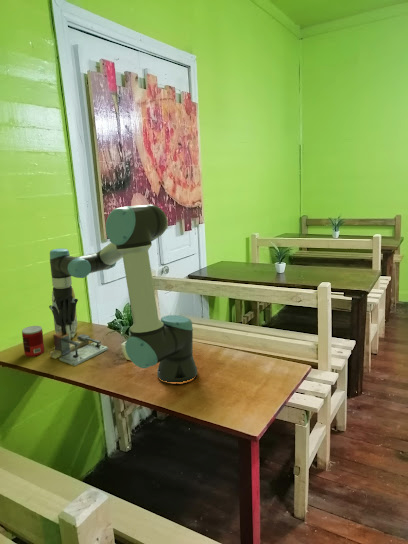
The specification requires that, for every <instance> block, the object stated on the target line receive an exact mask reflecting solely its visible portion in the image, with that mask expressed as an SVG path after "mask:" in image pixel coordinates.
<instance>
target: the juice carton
mask: <svg viewBox="0 0 408 544" xmlns="http://www.w3.org/2000/svg"><path fill="white" fill-rule="evenodd" d="M51 293H52V294H51V303H52V305H53V304H54V299H55V298H54V295H53V290H52V292H51ZM72 296H73V298H75V299H76V293H75V290H74V287H73V286H72ZM52 305H51V306H52ZM57 310H58V307H57ZM58 312H59V310H58ZM71 323H72V325H71V331H70V338H71V339H72V338H74V337H75V335H76V334H77V331H78V315H77V310H76V311H75V320H74V322H71ZM53 325H54V331H55V334H56V333H59V332H61V331H62V330H61V326H58V325H56V322H55V319H54V318H53Z"/></svg>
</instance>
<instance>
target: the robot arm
mask: <svg viewBox="0 0 408 544" xmlns="http://www.w3.org/2000/svg"><path fill="white" fill-rule="evenodd" d="M165 213H166V212H164V211H163V209H161V208H160V207H159V206H157V205H154V204H143V205H129V206H127V205H126V206H122V207H116V208H114V209H113V210H111V212H109V214H108V216H107V218H106V222H105V233H106V236H107V239H109V242H110V243H108V244H107V245H106V246H104V247H103V248H101V250H99V251H98V252H95V253H88V254H84V255H79V256H71V254H70V250H69V249H67V248H55V249H52V250H50V251H49V263H50V275H51V282H52V285H51V286H52V287H53V288H52V291H53V295H54V298H55V299H54V304H53V305H49V306H48V308H49V309H50V310H51V313H52V315H53V320H54V319H55V322H56V325H58V326H61V330H62V333H68V334H69V340H71V339H72V338H70V331H71V325H72V323H71V322H74V320H75V311H76V312H77V303H78V301H79V299H78V298H76V297H75V298H73V296H72V287H73V286H72V284H73V282H72V277H73V278H77V279H85V278H86V277H88V276H89V275H90V274H92V273H97V272H100V271H105V270H110V269H112V268H113V269H114V267H115V266H116V265H117V262H118V261H120V260H122V261H123V267H124V273H125V274H124V275H125V279H126V287H127V291H128V298H129V304H130V310H131V311H130V312H131V316H132V323H133V324H132V325H131V326H130V327H129V333H130V337H128V339H126V341H125V345H124V347H125V352H126V355H127V357H128V358H129V360H130V361H131V362H132V363H133V365H135V366H137V368H141V369H148V368H150V367H153V366H156V365H157V364H158V363H159V364H158V368H157V378H158V377H159V378H160V379H161V380H163V381H167V382H183V381H187V380H190V379H192V378H194V377H195V376H196V375H197V376H198V367H197V365H196V362H195V359H194V356H193V355H194V354H193V348H194V346H193V343H194V341H193V338H194V336H193V333H194V332H193V331H194V329H193V321H192V320H191V319H190V318H189V317H186V316H182V315H176V314H175V315H174V314H173V315H172V314H169V315H164V316H162V317H161V318H160V319H159V315H158V307H157V301H156V294H155V289H154V281H153V274H152V269H151V268H152V266H151V260H150V255H149V250H150V248H151V247H152V245H153V244H152V242H153V241H154V240H156V239H158V238H160V237H161V236H162V235H164V233H165V231H167V228H168V218H167V214H165ZM57 307H58V310H59V312H58V310H57Z"/></svg>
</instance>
